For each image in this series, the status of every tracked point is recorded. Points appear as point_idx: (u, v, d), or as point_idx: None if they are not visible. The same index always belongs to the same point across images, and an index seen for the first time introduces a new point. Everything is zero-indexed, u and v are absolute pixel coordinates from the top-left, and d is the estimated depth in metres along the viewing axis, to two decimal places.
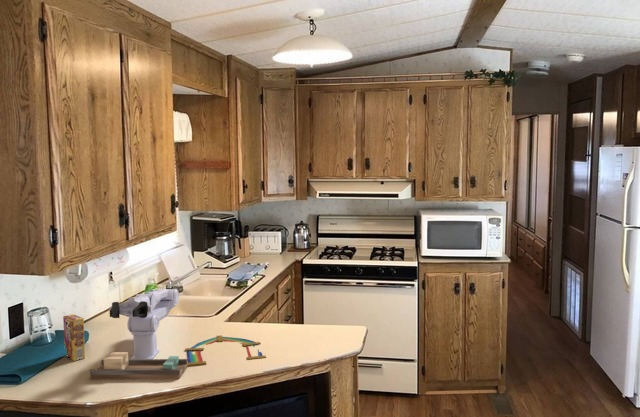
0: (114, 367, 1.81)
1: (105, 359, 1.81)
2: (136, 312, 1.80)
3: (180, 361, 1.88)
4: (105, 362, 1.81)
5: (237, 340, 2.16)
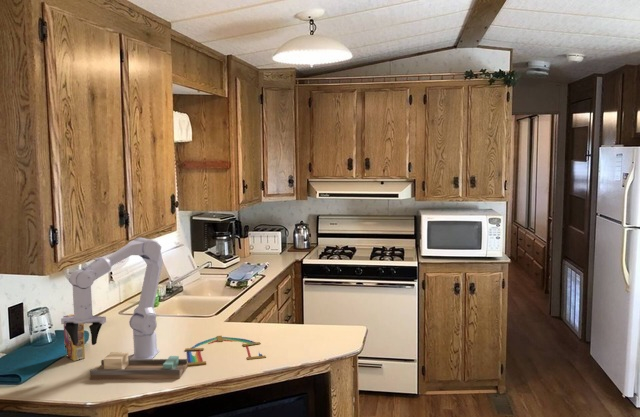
0: (114, 367, 1.81)
1: (105, 359, 1.81)
2: (95, 340, 1.83)
3: (180, 361, 1.88)
4: (105, 362, 1.81)
5: (237, 340, 2.16)
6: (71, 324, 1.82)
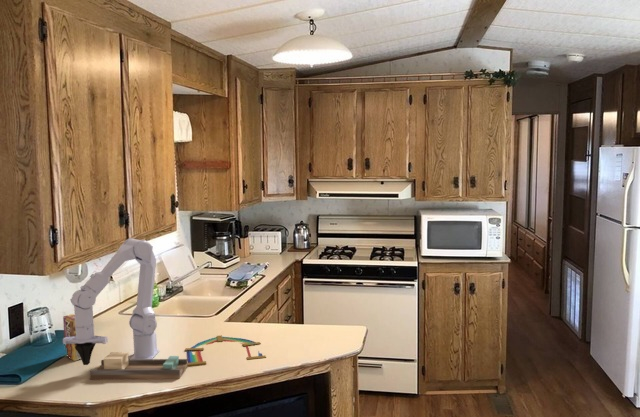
0: (114, 367, 1.81)
1: (105, 359, 1.81)
2: (88, 360, 1.84)
3: (180, 361, 1.88)
4: (105, 362, 1.81)
5: (237, 340, 2.16)
6: (81, 344, 1.82)
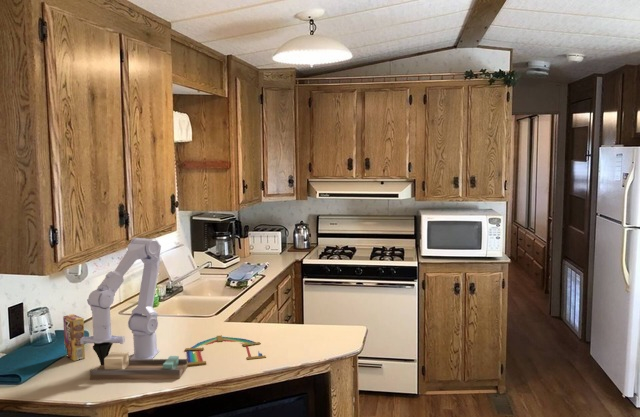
0: (114, 367, 1.81)
1: (105, 359, 1.81)
2: None
3: (180, 361, 1.88)
4: (105, 362, 1.81)
5: (237, 340, 2.16)
6: (99, 344, 1.82)
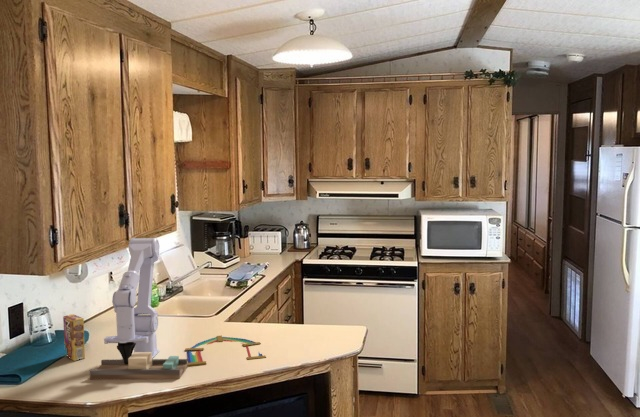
0: (139, 367, 1.81)
1: (130, 359, 1.81)
2: None
3: (180, 361, 1.88)
4: (129, 362, 1.81)
5: (237, 340, 2.16)
6: (123, 344, 1.82)
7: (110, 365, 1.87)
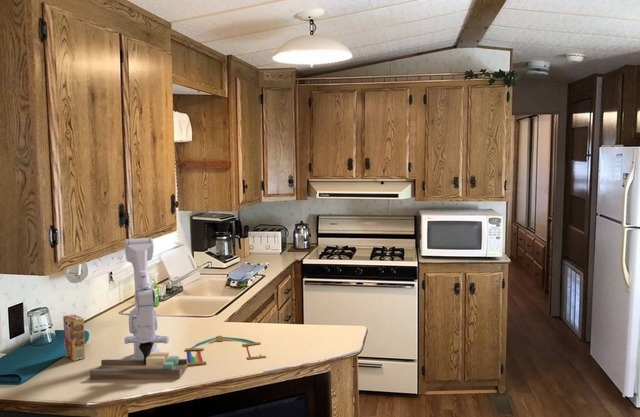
0: (156, 367, 1.81)
1: (147, 359, 1.80)
2: None
3: (180, 361, 1.88)
4: (147, 362, 1.80)
5: (237, 340, 2.16)
6: (145, 344, 1.82)
7: (110, 365, 1.87)
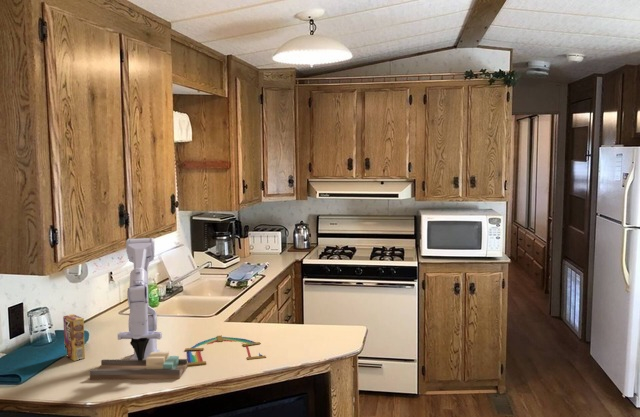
0: (156, 367, 1.81)
1: (147, 359, 1.80)
2: (142, 355, 1.83)
3: (180, 361, 1.88)
4: (147, 362, 1.80)
5: (237, 340, 2.16)
6: (136, 339, 1.82)
7: (110, 365, 1.87)
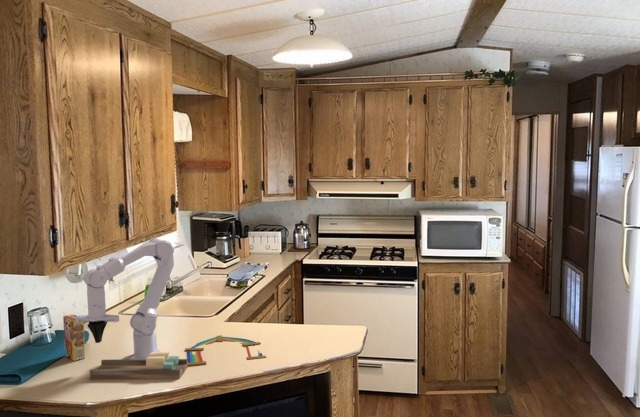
0: (156, 367, 1.81)
1: (147, 359, 1.80)
2: (100, 338, 1.88)
3: (180, 361, 1.88)
4: (147, 362, 1.80)
5: (237, 340, 2.16)
6: (93, 322, 1.87)
7: (110, 365, 1.87)
